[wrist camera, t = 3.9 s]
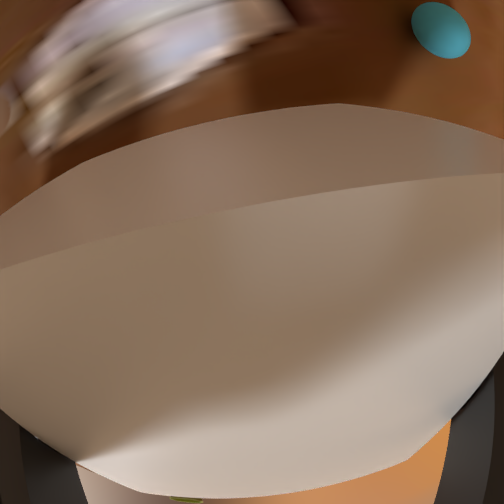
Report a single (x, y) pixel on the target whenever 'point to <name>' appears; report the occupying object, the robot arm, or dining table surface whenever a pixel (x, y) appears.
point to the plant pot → (187, 499)
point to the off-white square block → (256, 299)
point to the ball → (441, 30)
